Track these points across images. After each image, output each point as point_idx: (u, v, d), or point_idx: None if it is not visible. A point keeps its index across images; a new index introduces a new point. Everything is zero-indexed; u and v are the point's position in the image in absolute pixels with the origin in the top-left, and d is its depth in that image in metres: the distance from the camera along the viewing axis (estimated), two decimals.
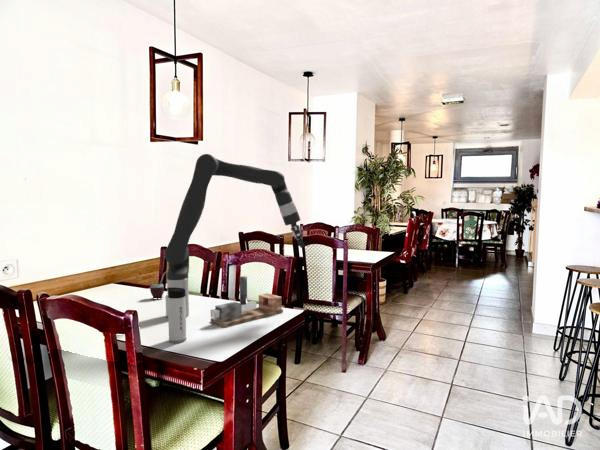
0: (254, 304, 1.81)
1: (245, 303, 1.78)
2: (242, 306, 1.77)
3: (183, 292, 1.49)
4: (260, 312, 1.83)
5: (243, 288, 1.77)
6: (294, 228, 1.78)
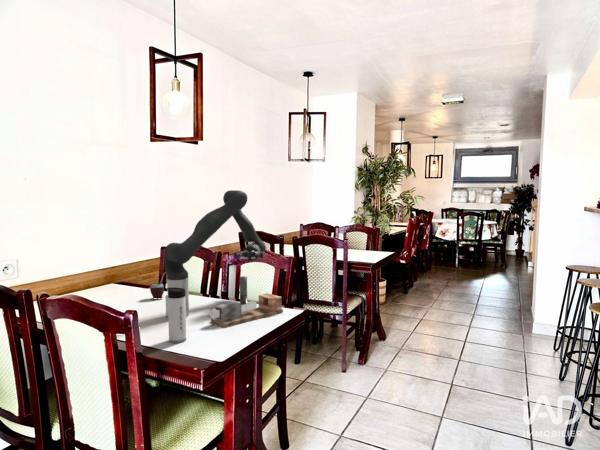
0: (254, 304, 1.81)
1: (245, 303, 1.78)
2: (242, 306, 1.77)
3: (183, 292, 1.49)
4: (260, 312, 1.83)
5: (243, 288, 1.77)
6: (263, 253, 1.98)
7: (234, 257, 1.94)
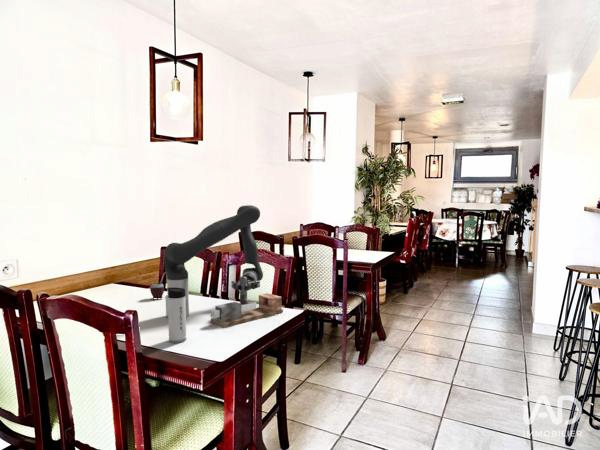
0: (254, 304, 1.81)
1: (245, 303, 1.78)
2: (242, 306, 1.77)
3: (183, 292, 1.49)
4: (260, 312, 1.83)
5: (243, 288, 1.77)
6: (259, 283, 1.84)
7: (234, 288, 1.80)
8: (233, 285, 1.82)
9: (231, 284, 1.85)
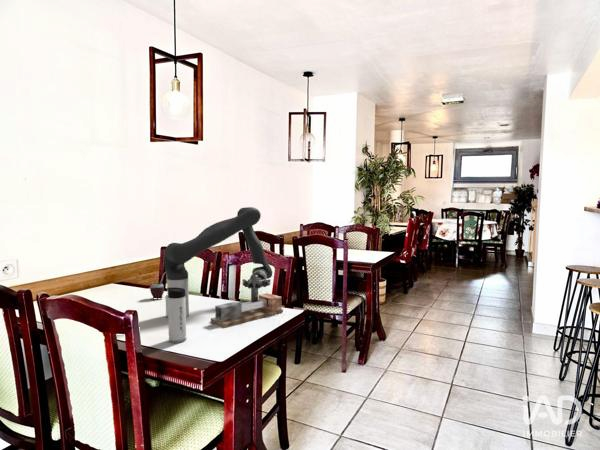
0: (265, 302, 1.86)
1: (256, 301, 1.82)
2: (253, 303, 1.81)
3: (183, 292, 1.49)
4: (260, 312, 1.83)
5: (254, 286, 1.81)
6: (269, 281, 1.89)
7: (245, 286, 1.85)
8: (244, 283, 1.87)
9: (242, 282, 1.89)
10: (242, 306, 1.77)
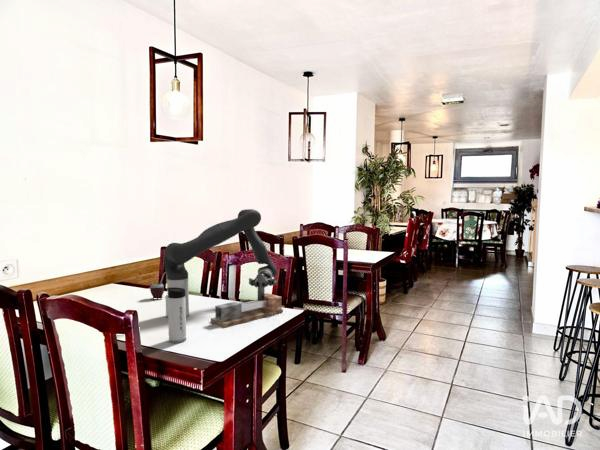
0: None
1: (263, 299, 1.85)
2: (260, 302, 1.84)
3: (183, 292, 1.49)
4: (260, 312, 1.83)
5: (261, 285, 1.84)
6: (275, 280, 1.91)
7: (252, 285, 1.87)
8: None
9: None
10: (249, 304, 1.79)
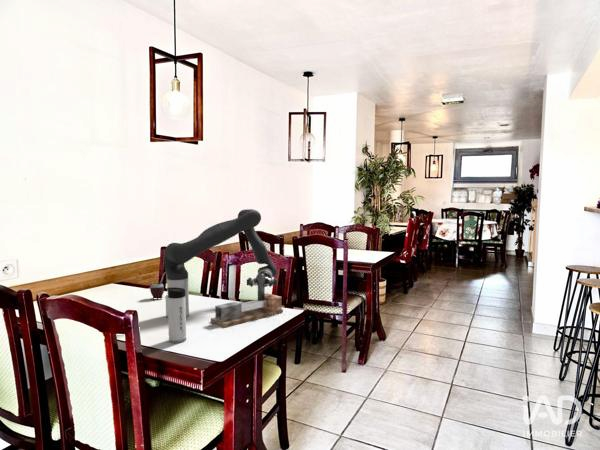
0: None
1: (263, 299, 1.85)
2: (260, 302, 1.84)
3: (183, 292, 1.49)
4: (260, 312, 1.83)
5: (261, 285, 1.84)
6: None
7: (247, 284, 1.88)
8: None
9: None
10: (249, 304, 1.79)
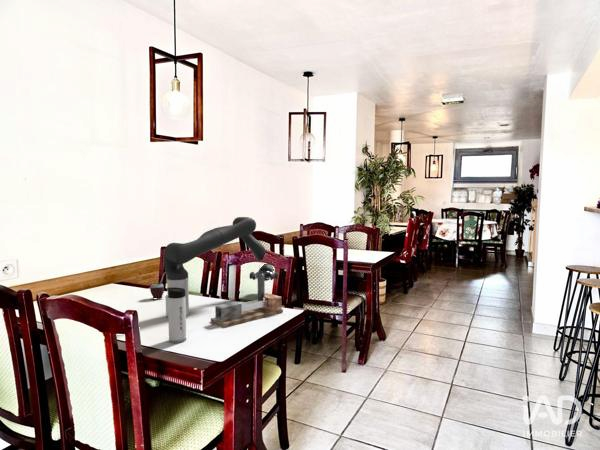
0: None
1: (263, 299, 1.85)
2: (260, 302, 1.84)
3: (183, 292, 1.49)
4: (260, 312, 1.83)
5: (261, 285, 1.84)
6: None
7: (250, 278, 2.01)
8: None
9: None
10: (249, 304, 1.79)
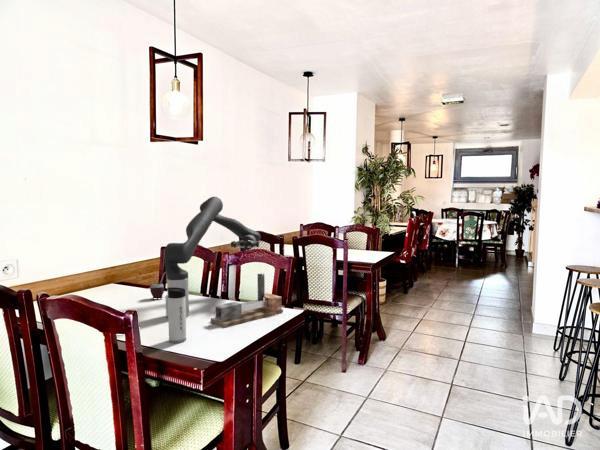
0: None
1: (263, 299, 1.85)
2: (260, 302, 1.84)
3: (183, 292, 1.49)
4: (260, 312, 1.83)
5: (261, 285, 1.84)
6: None
7: (231, 246, 2.05)
8: None
9: None
10: (249, 304, 1.79)
